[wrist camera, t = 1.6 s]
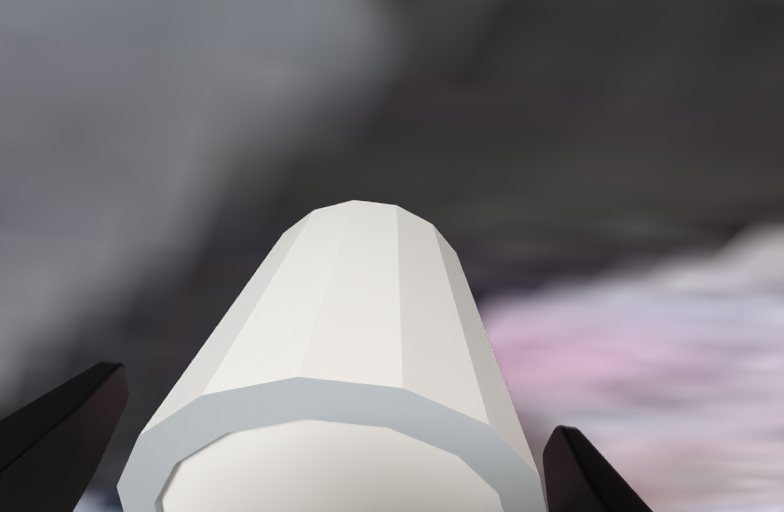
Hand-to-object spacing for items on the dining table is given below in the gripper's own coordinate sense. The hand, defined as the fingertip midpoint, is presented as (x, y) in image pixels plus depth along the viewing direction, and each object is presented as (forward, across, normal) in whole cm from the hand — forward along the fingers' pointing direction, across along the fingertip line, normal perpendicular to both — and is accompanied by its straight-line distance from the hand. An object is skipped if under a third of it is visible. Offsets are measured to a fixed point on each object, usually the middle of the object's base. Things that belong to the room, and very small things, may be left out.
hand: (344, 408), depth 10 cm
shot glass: (+4, 0, 0) cm, 5 cm away
